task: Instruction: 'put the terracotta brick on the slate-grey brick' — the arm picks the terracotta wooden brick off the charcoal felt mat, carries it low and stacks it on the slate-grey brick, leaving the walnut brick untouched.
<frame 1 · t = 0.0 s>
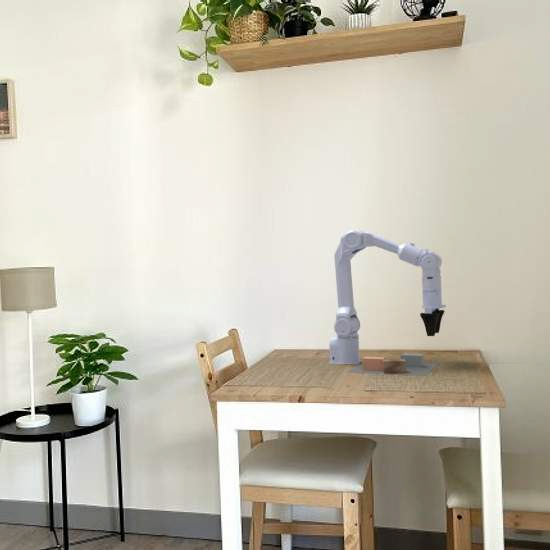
hand: (433, 334, 195), 10 cm above the table, fingers open, 7 cm apart
felt mat: (393, 369, 193), on the table
brick walnut: (394, 372, 185), resting on felt mat
brick slate: (412, 366, 194), resting on felt mat
brick terracotta: (374, 369, 191), resting on felt mat
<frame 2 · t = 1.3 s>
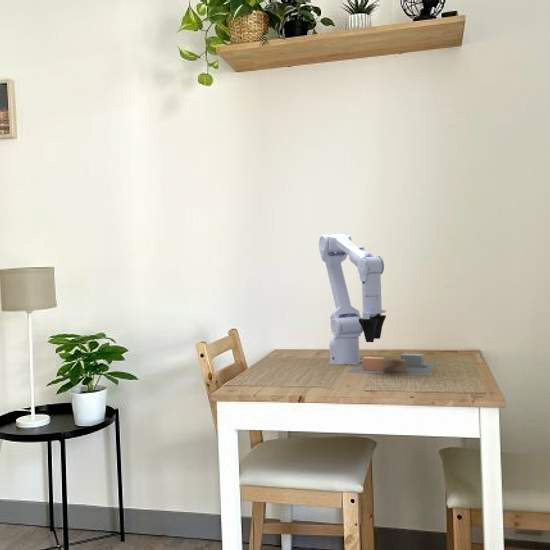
hand: (373, 340, 191), 9 cm above the table, fingers open, 7 cm apart
nothing on the table moved.
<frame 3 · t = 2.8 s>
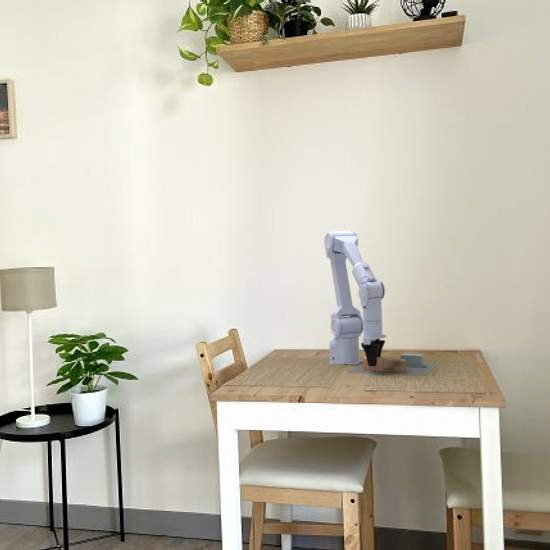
hand: (374, 364, 191), 2 cm above the table, fingers closed on brick terracotta, 3 cm apart
brick terracotta: (374, 369, 191), resting on felt mat, touching gripper
everything else where it was.
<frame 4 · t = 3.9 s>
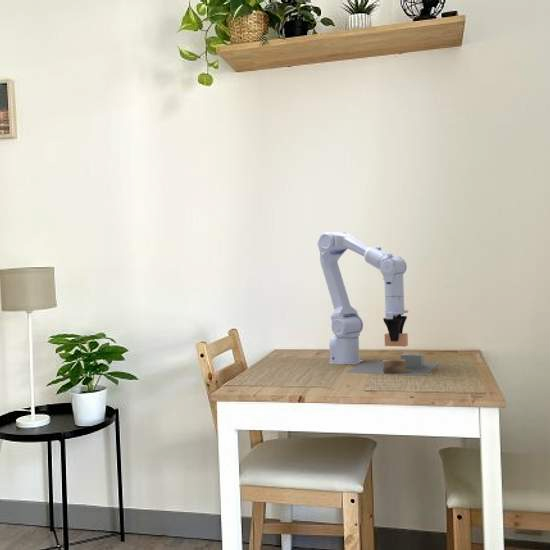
hand: (396, 340, 193), 9 cm above the table, fingers closed on brick terracotta, 3 cm apart
brick terracotta: (396, 345, 193), point 7 cm above the table, touching gripper
everything else where it was.
when the fingers open (7 cm above the table, at t = 4.9 s): brick terracotta stays where it is, resting on brick slate.
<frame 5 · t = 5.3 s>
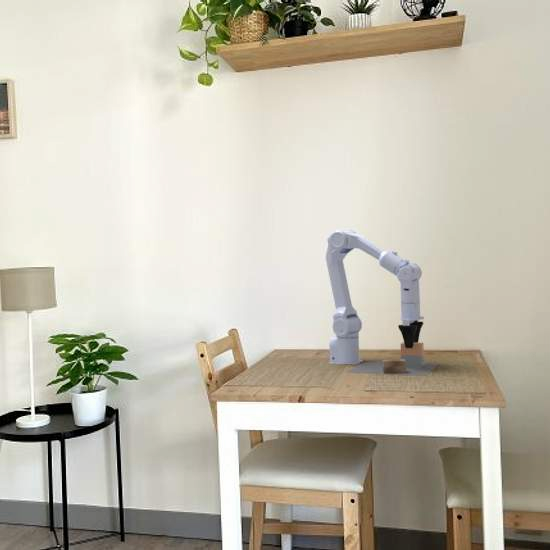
hand: (411, 346, 194), 7 cm above the table, fingers open, 7 cm apart
brick slate: (412, 366, 194), resting on felt mat, touching brick terracotta
brick terracotta: (412, 354, 194), point 4 cm above the table, touching brick slate
everything else where it was.
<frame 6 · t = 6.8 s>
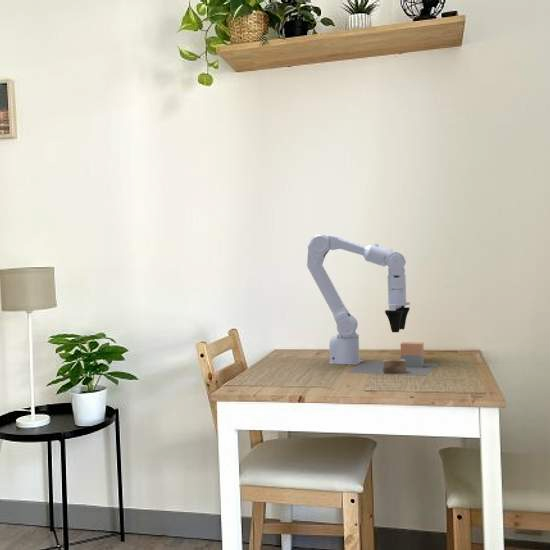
hand: (398, 330, 204), 10 cm above the table, fingers open, 7 cm apart
nothing on the table moved.
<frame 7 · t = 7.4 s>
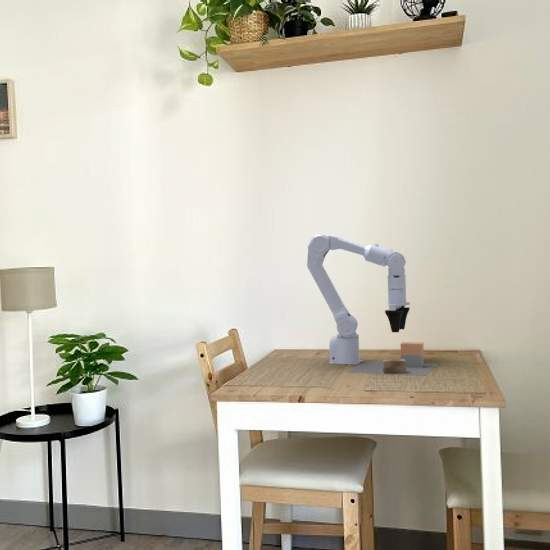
hand: (398, 330, 204), 10 cm above the table, fingers open, 7 cm apart
nothing on the table moved.
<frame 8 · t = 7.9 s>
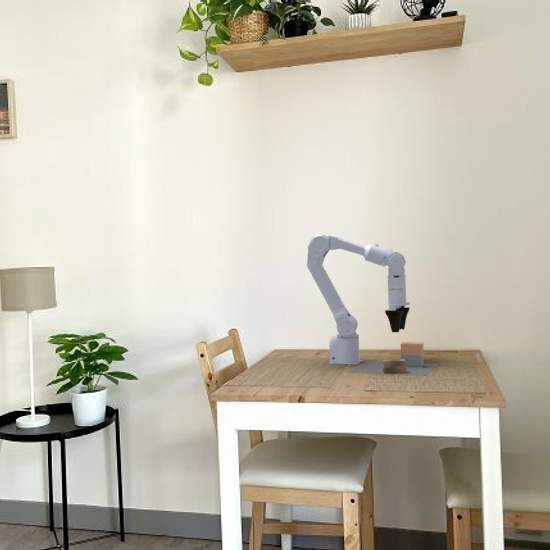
hand: (398, 330, 204), 10 cm above the table, fingers open, 7 cm apart
nothing on the table moved.
at the end: brick terracotta 0.1 cm off-centre on the brick slate, point 3.6 cm above the brick slate's base; brick walnut moved 0.0 cm from its start; brick slate moved 0.0 cm from its start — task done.
